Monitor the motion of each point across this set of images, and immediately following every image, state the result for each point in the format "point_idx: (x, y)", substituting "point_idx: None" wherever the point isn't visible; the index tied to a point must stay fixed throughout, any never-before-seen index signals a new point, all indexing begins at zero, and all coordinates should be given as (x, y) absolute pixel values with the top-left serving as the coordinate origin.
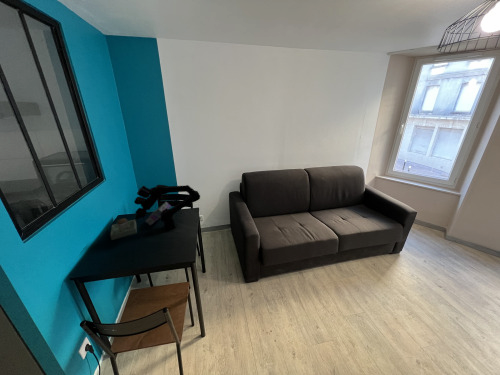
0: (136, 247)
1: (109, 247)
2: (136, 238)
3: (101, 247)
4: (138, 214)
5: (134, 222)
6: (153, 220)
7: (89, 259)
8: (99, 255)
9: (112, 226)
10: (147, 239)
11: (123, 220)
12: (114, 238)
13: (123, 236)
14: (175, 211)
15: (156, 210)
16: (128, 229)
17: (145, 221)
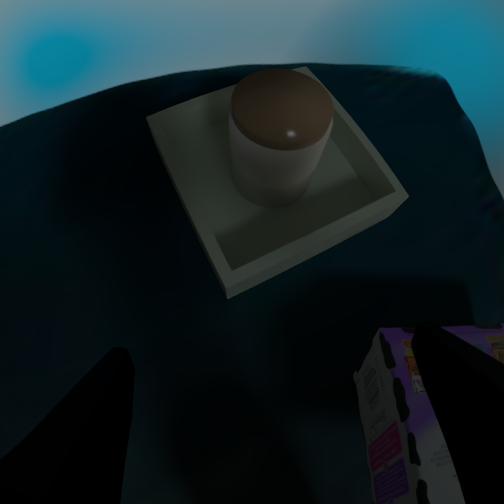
0: (35, 380)
1: (74, 178)
2: (143, 335)
3: (91, 132)
4: None
5: (356, 216)
6: (372, 437)
7: (13, 145)
8: (22, 171)
9: None
10: None
11: (287, 114)
12: (159, 153)
13: (182, 204)
14: None
15: None
16: (266, 201)
17: (375, 335)
